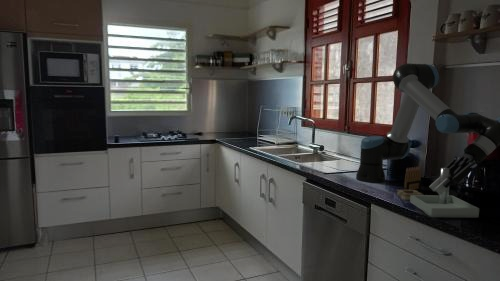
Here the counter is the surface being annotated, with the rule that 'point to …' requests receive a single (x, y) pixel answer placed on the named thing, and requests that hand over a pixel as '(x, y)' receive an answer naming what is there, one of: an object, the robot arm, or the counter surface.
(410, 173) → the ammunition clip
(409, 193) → the pin dock
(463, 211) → the tray
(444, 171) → the lock pin
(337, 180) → the counter surface
